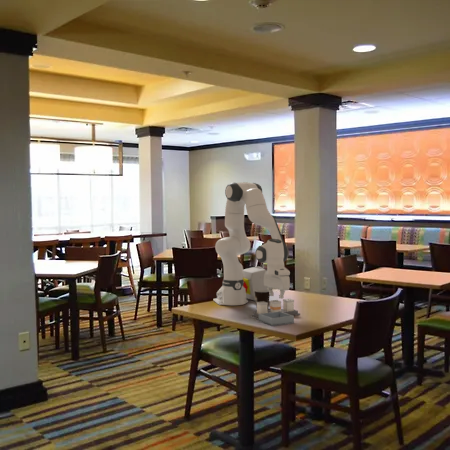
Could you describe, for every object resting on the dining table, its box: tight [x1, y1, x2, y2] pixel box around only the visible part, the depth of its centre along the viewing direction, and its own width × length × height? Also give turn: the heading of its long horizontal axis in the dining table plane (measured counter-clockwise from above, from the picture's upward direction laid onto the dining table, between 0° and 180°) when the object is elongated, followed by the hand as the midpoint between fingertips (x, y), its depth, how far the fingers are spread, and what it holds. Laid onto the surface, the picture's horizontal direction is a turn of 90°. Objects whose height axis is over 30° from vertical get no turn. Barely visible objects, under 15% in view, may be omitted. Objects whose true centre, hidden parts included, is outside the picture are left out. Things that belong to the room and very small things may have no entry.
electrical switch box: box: [243, 265, 268, 302], centre depth 321 cm, size 15×15×20 cm
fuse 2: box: [282, 298, 295, 311], centre depth 279 cm, size 4×4×7 cm
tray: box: [258, 311, 295, 327], centre depth 262 cm, size 13×13×4 cm
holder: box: [250, 308, 301, 321], centre depth 275 cm, size 8×25×2 cm, turn 116°
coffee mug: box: [255, 290, 271, 309], centre depth 295 cm, size 12×9×10 cm
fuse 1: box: [256, 301, 269, 314], centre depth 272 cm, size 4×4×7 cm
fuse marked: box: [269, 299, 282, 312], centre depth 275 cm, size 4×4×7 cm
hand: (276, 297), depth 275 cm, fingers open, 8 cm apart
